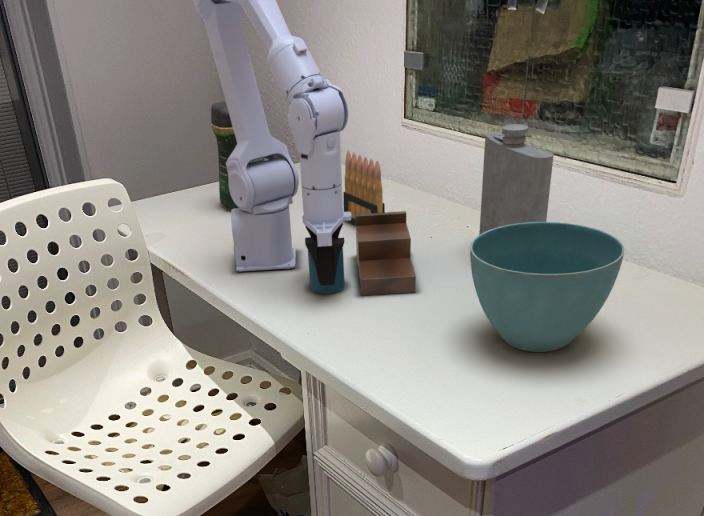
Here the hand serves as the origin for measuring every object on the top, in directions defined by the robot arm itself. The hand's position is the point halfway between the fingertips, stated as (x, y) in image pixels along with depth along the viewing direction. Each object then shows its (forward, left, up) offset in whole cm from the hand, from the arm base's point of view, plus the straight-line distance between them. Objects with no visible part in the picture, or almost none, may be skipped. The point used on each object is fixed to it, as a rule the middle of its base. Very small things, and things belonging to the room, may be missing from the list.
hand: (326, 277), depth 123 cm
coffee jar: (-15, +43, -2) cm, 46 cm away
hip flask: (+28, +5, -2) cm, 28 cm away
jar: (0, 0, -2) cm, 2 cm away
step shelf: (+9, +4, -2) cm, 10 cm away
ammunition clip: (+7, +26, -2) cm, 27 cm away
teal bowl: (+27, -21, -2) cm, 34 cm away
